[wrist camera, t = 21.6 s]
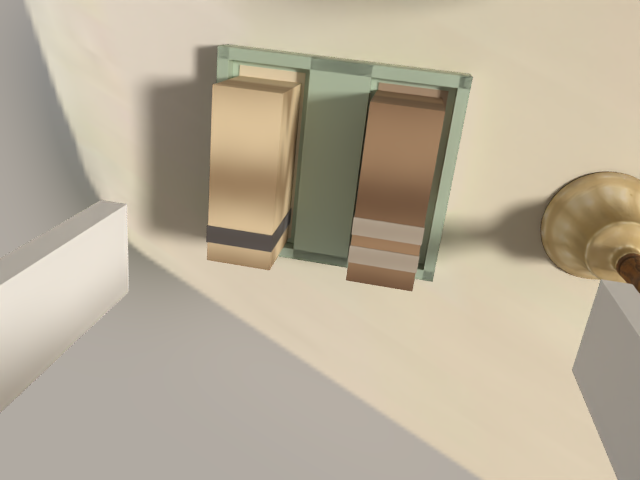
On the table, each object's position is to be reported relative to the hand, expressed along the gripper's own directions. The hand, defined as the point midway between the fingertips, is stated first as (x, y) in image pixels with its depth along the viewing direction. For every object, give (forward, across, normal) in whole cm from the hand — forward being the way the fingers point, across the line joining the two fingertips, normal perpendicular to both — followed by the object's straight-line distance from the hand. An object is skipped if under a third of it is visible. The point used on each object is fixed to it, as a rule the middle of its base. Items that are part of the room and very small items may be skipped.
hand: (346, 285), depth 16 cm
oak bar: (+27, -9, -4) cm, 29 cm away
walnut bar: (+27, +1, -4) cm, 28 cm away
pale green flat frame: (+29, -4, -4) cm, 29 cm away
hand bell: (+29, +16, -6) cm, 34 cm away
